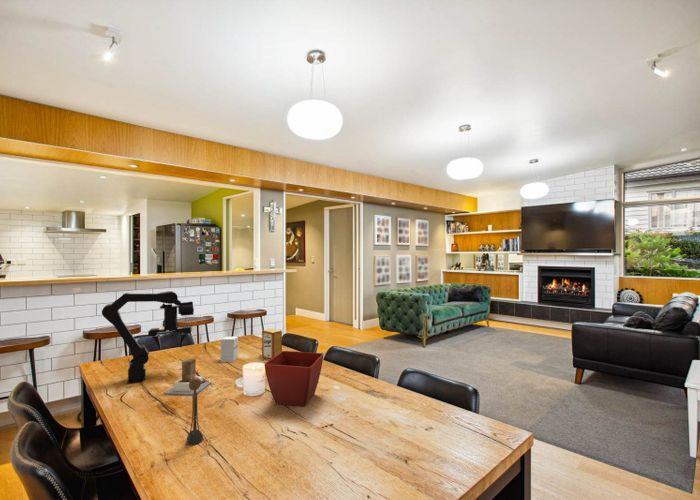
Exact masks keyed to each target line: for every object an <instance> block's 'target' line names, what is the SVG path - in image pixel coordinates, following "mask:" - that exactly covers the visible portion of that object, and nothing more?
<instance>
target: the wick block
mask: <svg viewBox="0 0 700 500" xmlns="http://www.w3.org/2000/svg"><path fill="white" fill-rule="evenodd" d="M195 376H196V358H186V359H184V360H182V361H181V378H182V382H190V381H191V380H192V379H193V378H195Z"/></svg>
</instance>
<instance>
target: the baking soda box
mask: <svg viewBox="0 0 700 500" xmlns="http://www.w3.org/2000/svg"><path fill="white" fill-rule="evenodd" d="M282 351H283V330H279V329H276V328H268V329H262V330H261V358H262V359H265V358H266V360H268V359H269V360H271V359H272V358H273V357H275V356H276V355H277V354H279V353H280V352H282ZM269 360H268V361H269Z"/></svg>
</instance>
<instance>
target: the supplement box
mask: <svg viewBox="0 0 700 500" xmlns="http://www.w3.org/2000/svg"><path fill="white" fill-rule="evenodd" d="M237 359H239V336H224V337H223V338H221V339H220V363H234V362H235V361H236V360H237Z"/></svg>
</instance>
